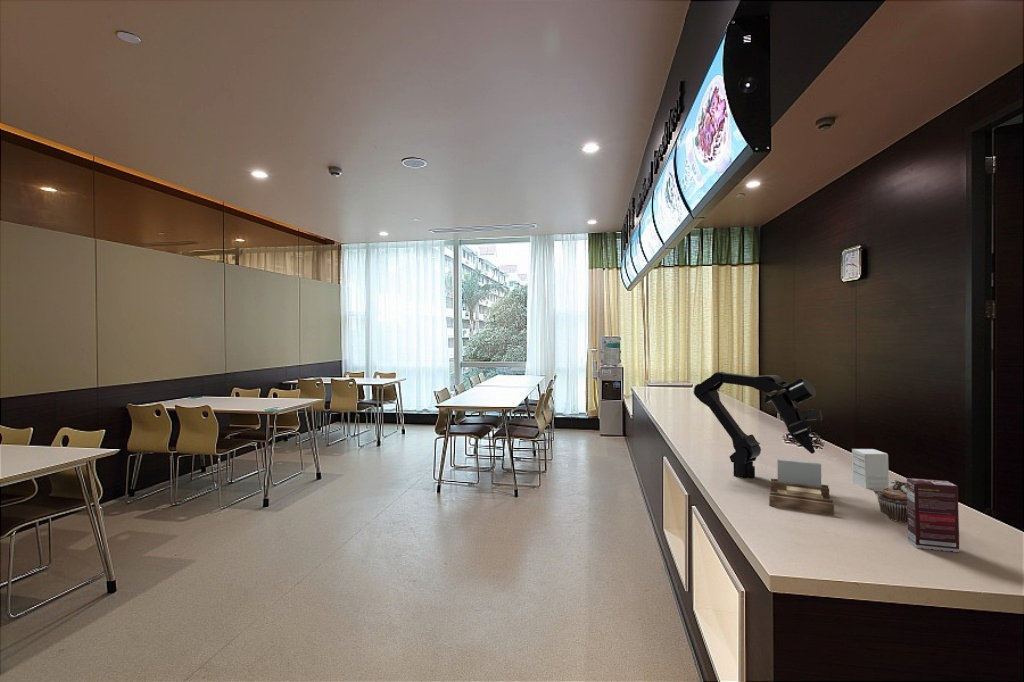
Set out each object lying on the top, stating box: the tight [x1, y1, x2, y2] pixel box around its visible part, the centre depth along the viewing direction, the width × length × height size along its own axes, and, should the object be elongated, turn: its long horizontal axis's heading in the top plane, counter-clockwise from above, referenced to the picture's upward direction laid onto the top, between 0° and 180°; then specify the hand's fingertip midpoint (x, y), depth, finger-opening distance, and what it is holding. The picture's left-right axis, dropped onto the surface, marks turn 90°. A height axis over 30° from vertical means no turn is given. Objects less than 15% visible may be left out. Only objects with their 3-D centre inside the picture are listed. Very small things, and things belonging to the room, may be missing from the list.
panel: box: [777, 458, 822, 487], centre depth 152 cm, size 12×2×10 cm, turn 60°
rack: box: [768, 477, 835, 516], centre depth 146 cm, size 16×20×4 cm
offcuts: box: [777, 486, 823, 498], centre depth 146 cm, size 12×5×3 cm, turn 60°
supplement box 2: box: [906, 477, 960, 553], centre depth 115 cm, size 9×5×16 cm, turn 71°
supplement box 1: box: [851, 448, 890, 492], centre depth 159 cm, size 7×7×13 cm
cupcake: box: [877, 479, 907, 523], centre depth 134 cm, size 10×10×10 cm
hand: (813, 453), depth 153 cm, fingers open, 9 cm apart
